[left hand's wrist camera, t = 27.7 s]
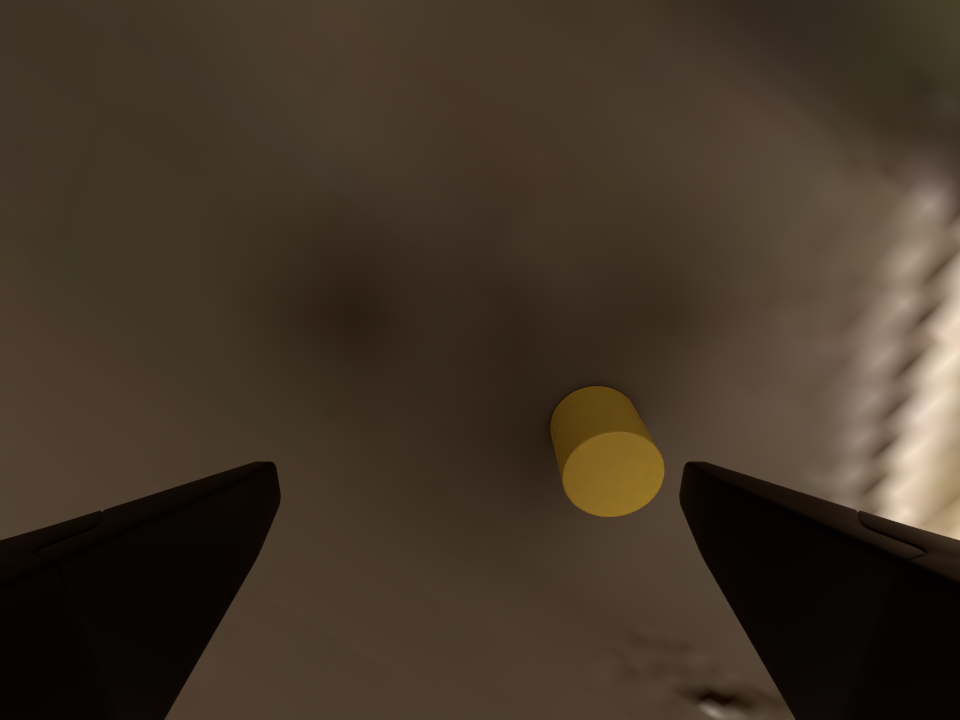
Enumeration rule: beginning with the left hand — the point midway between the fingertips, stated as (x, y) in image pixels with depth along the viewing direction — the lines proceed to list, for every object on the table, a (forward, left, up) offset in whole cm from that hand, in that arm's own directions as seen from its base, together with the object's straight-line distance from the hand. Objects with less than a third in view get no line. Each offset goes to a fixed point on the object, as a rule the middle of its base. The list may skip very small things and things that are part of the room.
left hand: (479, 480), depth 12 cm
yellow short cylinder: (-4, +7, -12) cm, 15 cm away
